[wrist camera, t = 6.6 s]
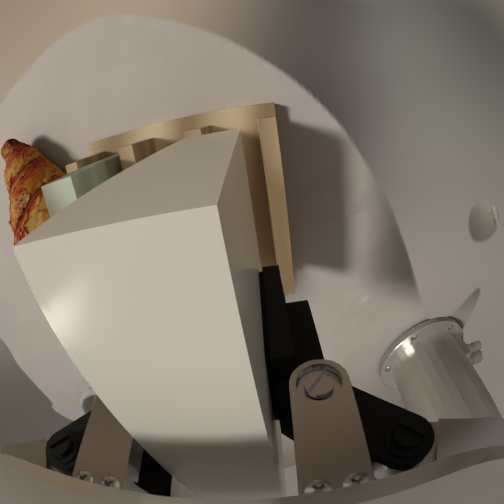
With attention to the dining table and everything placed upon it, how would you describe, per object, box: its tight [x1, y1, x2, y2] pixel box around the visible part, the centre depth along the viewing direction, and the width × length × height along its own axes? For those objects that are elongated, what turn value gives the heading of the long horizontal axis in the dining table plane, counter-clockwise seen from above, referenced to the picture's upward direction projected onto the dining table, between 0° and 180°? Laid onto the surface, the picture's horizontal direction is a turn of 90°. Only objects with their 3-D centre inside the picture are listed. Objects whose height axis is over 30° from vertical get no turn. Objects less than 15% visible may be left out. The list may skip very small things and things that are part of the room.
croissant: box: [1, 139, 66, 245], centre depth 22 cm, size 21×10×8 cm, turn 27°
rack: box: [41, 103, 295, 294], centre depth 19 cm, size 15×14×10 cm
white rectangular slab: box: [13, 129, 287, 500], centre depth 9 cm, size 2×11×10 cm, turn 8°
